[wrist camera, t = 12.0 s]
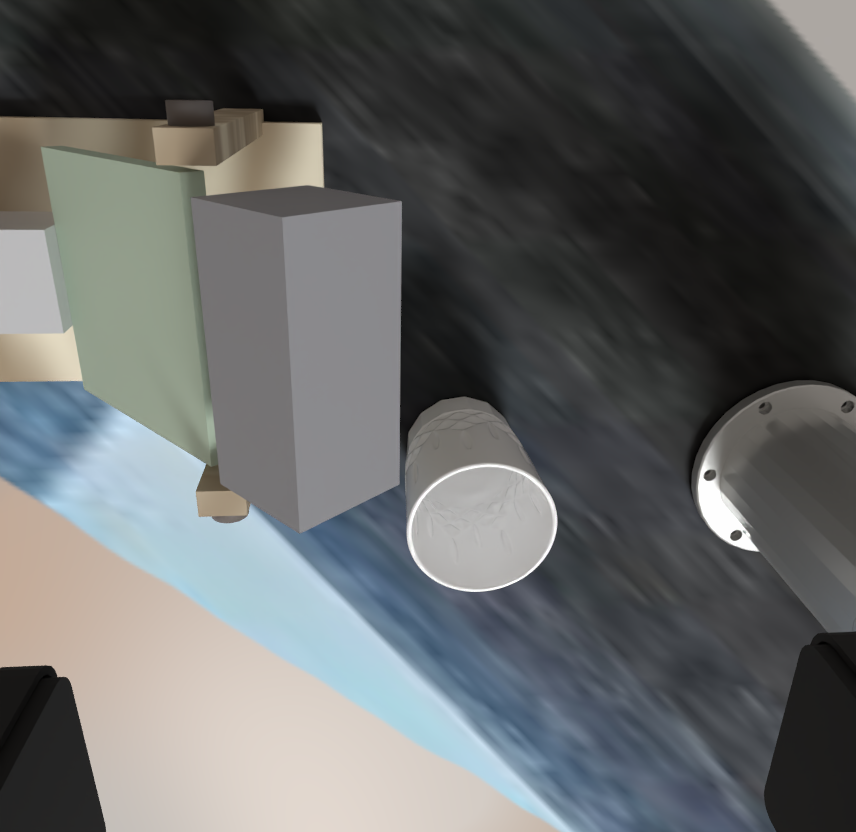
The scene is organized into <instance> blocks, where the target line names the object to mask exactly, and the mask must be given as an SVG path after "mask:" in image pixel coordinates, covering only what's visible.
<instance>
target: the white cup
mask: <svg viewBox="0 0 856 832" xmlns="http://www.w3.org/2000/svg"><path fill="white" fill-rule="evenodd" d="M406 456H407V459H406V465H405V497H406V526H407V542H408V546H409V550H410V552H411V555H412V557H413V559H414V560H415V562H416V564H417V565H418V566H419V567H420V569H421V570H422V571H423V572H424V573H425V574H426V575H428V576H429V577H430V578H432V579H433V580H435V581H436V582H438V583H440V584H442V585H444V586H447V587H450V588H453V589H457V590H462V591H472V592H479V591H489V590H495V589H499V588H502V587H505V586H508V585H510V584H513V583H515V582H517V581H519V580H520V579H522V578H524V577H525V576H527V575H528V574H529V573H531V572H532V571H533V570H534V569H535V568H536V567H537V566H538V565H539V564H540V563H541V562H542V561H543V560H544V558H545V557H546V555H547V554H548V552H549V551H550V549H551V547H552V544H553V542H554V539H555V535H556V531H557V512H556V508H555V504H554V502H553V499H552V497H551V495H550V493H549V492H548V490H547V488H546V486H545V485H544V483H543V481H542V479H541V478H540V476H539V474H538V472H537V470H536V469H535V467H534V465H533V463H532V461H531V460H530V458H529V456H528V454H527V452H526V451H525V449H524V448H523V446H522V445H521V443H520V441H519V439H518V438H517V437H516V435H515V434H514V433H513V431H512V430H511V429H510V427H509V425H508V423H507V421H506V419H505V418H504V417H503V416H502V415H501V414H500V413H499V412H498V411H497V410H496V409H494V408H493V407H492V406H491V405H490V404H489V403H487V402H484V401H480V400H476V399H473V398H469V397H465V396H464V397H458V398H452V399H445V400H440V401H439V402H437V403H436V404H434V405H433V406H431V407H429V408H428V409H426V410H425V411H423V412H422V413H420V415H419V417H418V418H417V420H416V421H415V423H414V424H413V426H412V428H411V429H410V431H409V432H408V442H407V454H406Z"/></svg>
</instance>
